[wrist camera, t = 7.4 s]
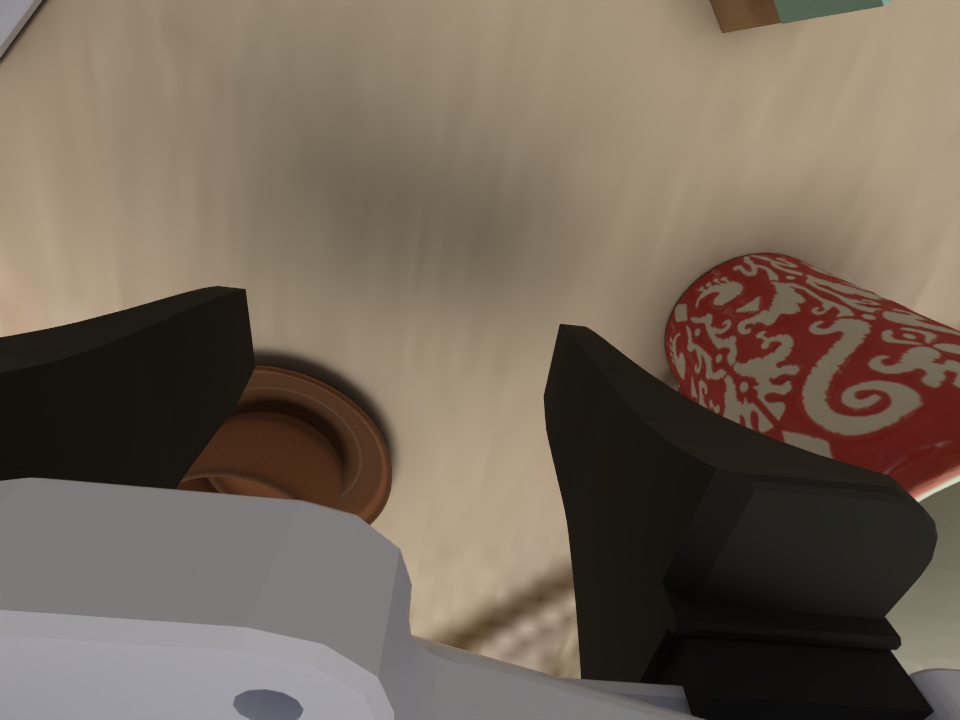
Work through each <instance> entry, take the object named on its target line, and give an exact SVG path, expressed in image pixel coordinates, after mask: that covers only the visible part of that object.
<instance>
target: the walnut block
mask: <svg viewBox="0 0 960 720" xmlns="http://www.w3.org/2000/svg"><path fill="white" fill-rule="evenodd" d="M710 3H711V5H712V8H713V10H714V13H715V15H716V18H717V20H718V23H719V25H720V28H721V30H722V33H726V32H731V31H737V30H743V29H748V28H754V27H760V26H765V25H771V24H776V23H782V22H781V20H780V17H779V14H778V11H777V8H776V6H775V3H774V0H710Z"/></svg>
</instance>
